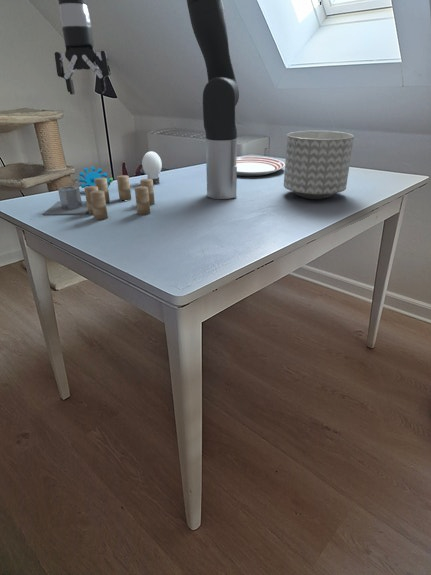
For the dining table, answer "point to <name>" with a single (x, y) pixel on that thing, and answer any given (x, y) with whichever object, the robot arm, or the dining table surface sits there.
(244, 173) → the dinner plate
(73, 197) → the grey block
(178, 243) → the dining table surface
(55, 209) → the mat
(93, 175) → the gear
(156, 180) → the light bulb
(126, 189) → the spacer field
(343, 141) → the planter
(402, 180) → the dining table surface
